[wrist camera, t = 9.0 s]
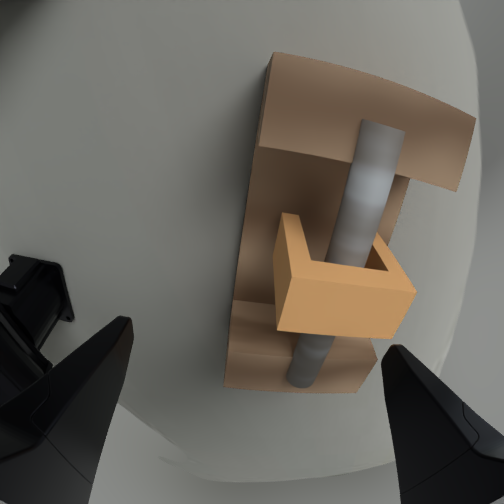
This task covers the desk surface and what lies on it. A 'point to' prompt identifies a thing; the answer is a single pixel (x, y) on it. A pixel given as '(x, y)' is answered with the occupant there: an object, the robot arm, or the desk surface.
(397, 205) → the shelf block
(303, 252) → the tan u-shaped bracket
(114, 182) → the desk surface
